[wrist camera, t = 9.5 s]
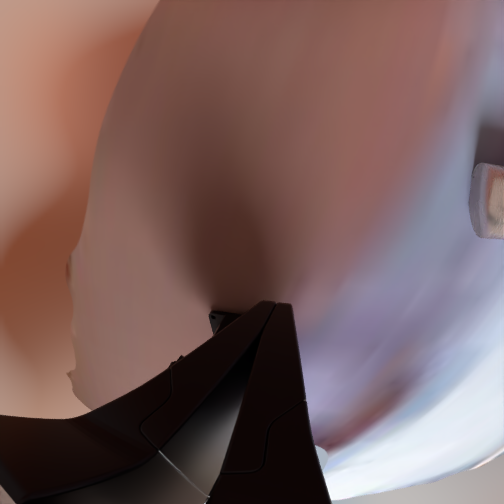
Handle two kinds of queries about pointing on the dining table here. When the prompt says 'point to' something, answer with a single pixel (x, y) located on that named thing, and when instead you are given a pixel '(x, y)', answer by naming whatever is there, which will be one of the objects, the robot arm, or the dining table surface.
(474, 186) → the tube
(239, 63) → the dining table surface
